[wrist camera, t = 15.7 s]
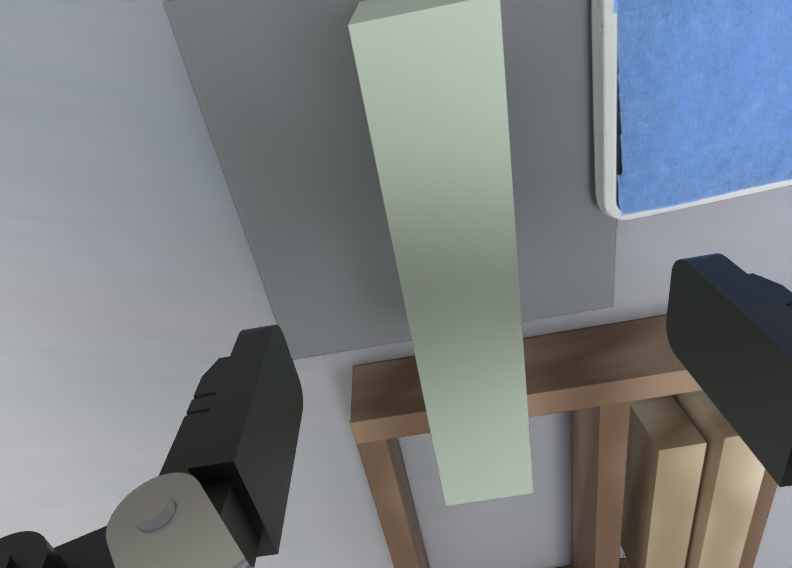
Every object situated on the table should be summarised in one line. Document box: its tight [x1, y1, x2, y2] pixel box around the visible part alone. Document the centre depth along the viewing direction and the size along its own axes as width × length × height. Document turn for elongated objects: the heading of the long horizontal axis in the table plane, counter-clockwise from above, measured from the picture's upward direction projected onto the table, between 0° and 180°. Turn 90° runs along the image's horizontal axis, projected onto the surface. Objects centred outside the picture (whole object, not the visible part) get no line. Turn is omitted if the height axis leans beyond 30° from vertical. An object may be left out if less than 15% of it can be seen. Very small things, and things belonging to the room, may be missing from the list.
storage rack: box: [350, 315, 777, 568], centre depth 27 cm, size 19×19×4 cm
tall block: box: [348, 0, 533, 506], centre depth 15 cm, size 2×12×9 cm, turn 10°
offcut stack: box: [620, 390, 765, 568], centre depth 26 cm, size 4×13×4 cm, turn 10°
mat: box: [163, 0, 617, 360], centre depth 19 cm, size 14×14×1 cm
